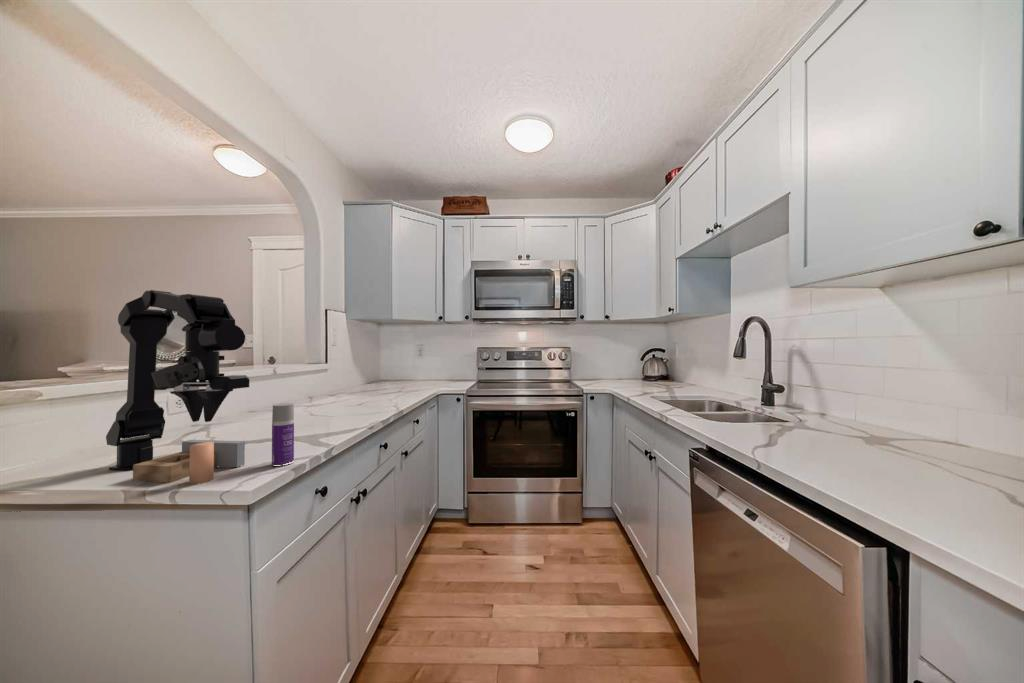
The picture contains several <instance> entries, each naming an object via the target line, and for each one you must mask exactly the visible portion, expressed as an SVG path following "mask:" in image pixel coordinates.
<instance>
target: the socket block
mask: <svg viewBox="0 0 1024 683" xmlns="http://www.w3.org/2000/svg"><path fill="white" fill-rule="evenodd" d="M189 464H190V452H182V451H181V452H177V453H173V454H169V455H165V456H162V457H161V456H160V457H158V458H153V460H150V461H146V462H142V463H138V464H134V465H133V469H132V481H133V480H137V481H136V482H152V483H153V482H155V483H174V482H176V480H177V481H180V480H182V479H181V478H183V479H184V478H185V477H186V478H188V476H189ZM214 467H216V453H214ZM216 468H217V467H216ZM186 478H185V479H186ZM179 479H180V480H179Z"/></svg>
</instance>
